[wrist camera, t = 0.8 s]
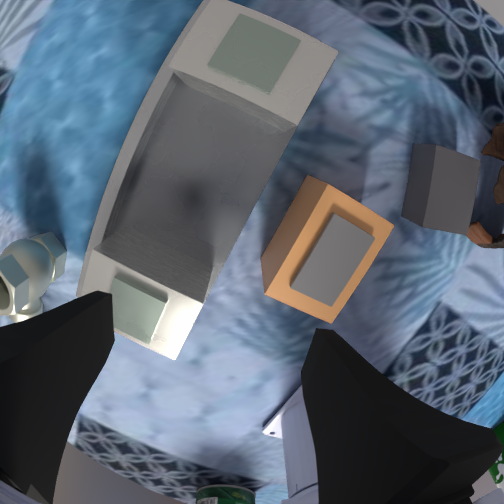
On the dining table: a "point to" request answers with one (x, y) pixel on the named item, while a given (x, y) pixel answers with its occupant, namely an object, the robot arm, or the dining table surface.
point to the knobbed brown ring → (498, 147)
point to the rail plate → (197, 166)
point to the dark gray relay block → (441, 188)
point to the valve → (29, 274)
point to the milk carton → (499, 460)
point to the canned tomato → (224, 495)
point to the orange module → (321, 250)
